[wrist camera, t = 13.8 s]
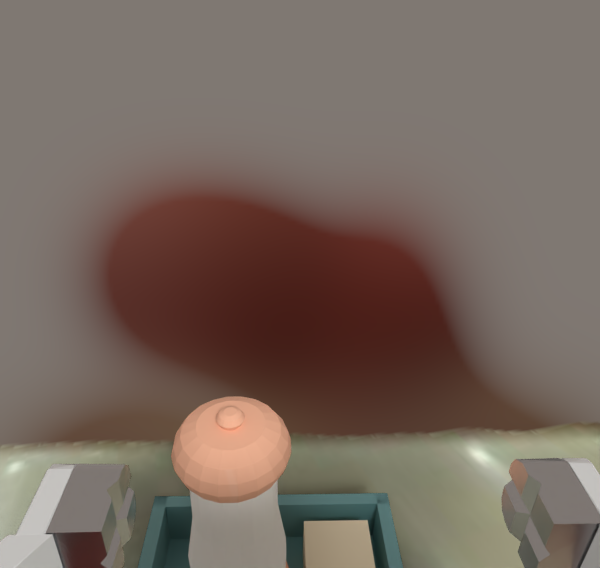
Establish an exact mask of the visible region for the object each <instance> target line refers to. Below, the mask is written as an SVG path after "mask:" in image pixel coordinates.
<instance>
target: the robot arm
mask: <svg viewBox="0 0 600 568" xmlns="http://www.w3.org/2000/svg"><path fill="white" fill-rule="evenodd" d="M509 473H510V475H511V477H512V480H511V481H510V482H509V483H508V484H507V485H505V486H504V490H503V494H502V512H503V516H504V520H505V523H506V525H507V528H508V530H509V532H510V533H511V534H512V535H513V536H515V537H516V538H517V539H518V540H519V541H521V543H520V546H519V549H518V553H519V556H520V558H521V560H522V563H523V565H524V567H525V568H600V474H599V473H598V471H597V470H596V468H595V467H594V465H593V464H592V463H591V462H590V461H589V460H588V459H586V458H562V459H559V458H547V459H515V460H514V461H513V462H512V464H511V467H510V470H509ZM130 479H131V473H130V469H129V465H124V464H53V465H52V466H51V467H50V468H49V469H48V470H47V471H46V473H45V475H44V477H43V479H42V481H41V483H40V486H39V488H38V490H37V492H36V494H35V496H34V498H33V500H32V502H31V504H30V506H29V508H28V510H27V512H26V514H25V516H24V518H23V520H22V522H21V524H20V526H19V529H18V531H17V533H16V535H7V536H6V537H5V538H3V539H2V540H1V541H0V568H123V565H124V561H125V557H124V552H123V546H124V545H125V544H126V543H127V542H128V541H129V540H130V539H131V535H132V531H133V527H134V522H135V513H136V499H135V494H134V491H133V490H132V489H131V488H129V487H128V486H129V483H130Z"/></svg>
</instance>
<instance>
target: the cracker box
mask: <svg viewBox="0 0 600 568" xmlns="http://www.w3.org/2000/svg"><path fill="white" fill-rule="evenodd" d="M303 568H375V562H374V556H373V550H372V544H371V538H370V532H369V526H368V520H341V521H304V530H303Z"/></svg>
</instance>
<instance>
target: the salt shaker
mask: <svg viewBox="0 0 600 568" xmlns="http://www.w3.org/2000/svg"><path fill="white" fill-rule="evenodd" d="M290 455H291V438H290V436H289V433H288V430H287V428H286V426H285V424H284V422H283V420H282V419H281V418H280V417H279V416H278V415H277V414H276V413H275V412H274V411H273V410H272V409H271V408H270V407H268V406H267V405H266V404H264V403H262V402H260V401H258V400H255V399H251V398H246V397H224V398H219V399H215V400H212V401H210V402H208V403H205V404H203V405H201V406H199V407H198V408H197V409H196V410H194V411H193V412H192V413H191V414H190V415H189V416H188V417H187V418H186V419H185V420H184V422H183V423H182V425H181V426H180V428H179V429H178V431H177V432H176V435H175V440H174V444H173V449H172V454H171V458H172V462H173V467H174V471H175V472H176V473H177V475H178V476H179V478H180V479H181V480H182V482H183V483H184V484H185V486H186V487H187V488H188V489H189V490H190V498H191V507H192V526H191V535H190V544H189V552H188V558H189V563H190V568H289V566H288V564H287V561H286V536H285V532H284V528H283V523H282V519H281V515H280V511H279V506H278V479H279V477H280V476H281V475H282V474H283V472H284V470H285V468H286V466H287V463H288V461H289V458H290Z"/></svg>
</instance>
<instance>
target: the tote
mask: <svg viewBox="0 0 600 568" xmlns="http://www.w3.org/2000/svg"><path fill="white" fill-rule="evenodd" d="M278 506H279V511H280V515H281V519H282V523H283V528H284V532H285V536H286V561H287V564H288V566H289V568H303V530H304V521H341V520H368V526H369V532H370V538H371V544H372V550H373V556H374V562H375V568H403V565H402V560H401V556H400V551H399V546H398V542H397V537H396V532H395V528H394V523H393V518H392V514H391V509H390V504H389V500H388V495H387V493H363V494H294V495H278ZM191 526H192V507H191V498H190V496H155V499H154V503H153V507H152V512H151V516H150V520H149V524H148V528H147V532H146V536H145V540H144V544H143V548H142V552H141V556H140V560H139V564H138V568H190V563H189V558H188V552H189V544H190V535H191Z"/></svg>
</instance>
